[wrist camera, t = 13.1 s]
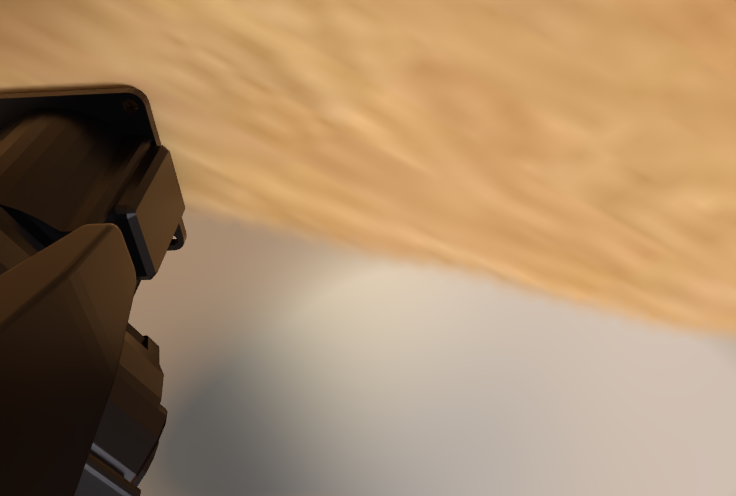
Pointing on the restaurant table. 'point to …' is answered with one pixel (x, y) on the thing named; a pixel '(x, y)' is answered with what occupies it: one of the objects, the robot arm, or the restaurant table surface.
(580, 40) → the restaurant table surface
